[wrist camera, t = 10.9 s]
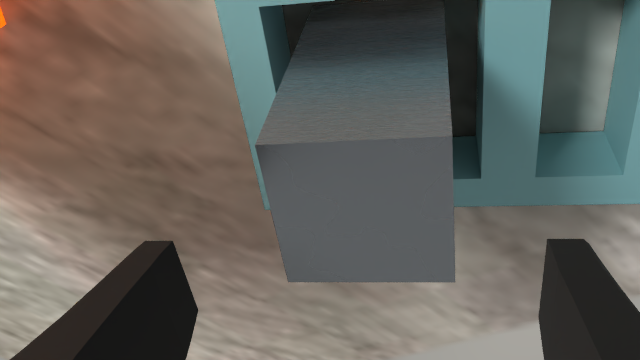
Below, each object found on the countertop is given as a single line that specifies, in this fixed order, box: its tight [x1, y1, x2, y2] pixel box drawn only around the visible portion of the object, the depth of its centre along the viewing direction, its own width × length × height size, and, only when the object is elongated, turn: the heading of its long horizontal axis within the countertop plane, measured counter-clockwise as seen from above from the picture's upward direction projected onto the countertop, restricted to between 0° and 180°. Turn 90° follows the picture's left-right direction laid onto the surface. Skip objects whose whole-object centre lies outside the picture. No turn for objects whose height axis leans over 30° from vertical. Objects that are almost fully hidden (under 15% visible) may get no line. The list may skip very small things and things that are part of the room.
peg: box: [255, 0, 455, 282], centre depth 16 cm, size 4×4×8 cm
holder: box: [215, 0, 640, 210], centre depth 18 cm, size 15×8×2 cm, turn 98°
